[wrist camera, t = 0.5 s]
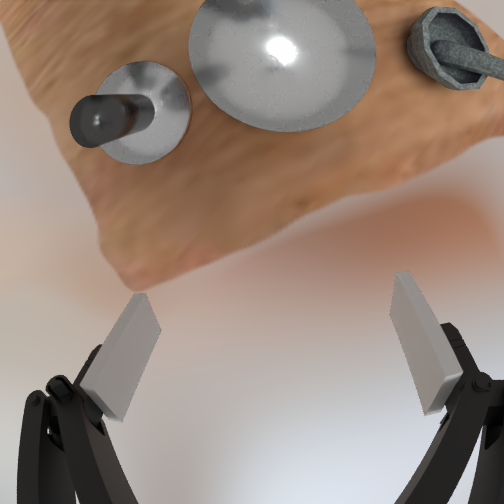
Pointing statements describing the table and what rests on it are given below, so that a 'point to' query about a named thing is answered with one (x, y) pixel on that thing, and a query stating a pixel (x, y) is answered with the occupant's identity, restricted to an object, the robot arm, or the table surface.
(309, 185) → the table surface
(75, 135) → the steel lid
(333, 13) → the cooker pot
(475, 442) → the robot arm
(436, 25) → the mortar and pestle
